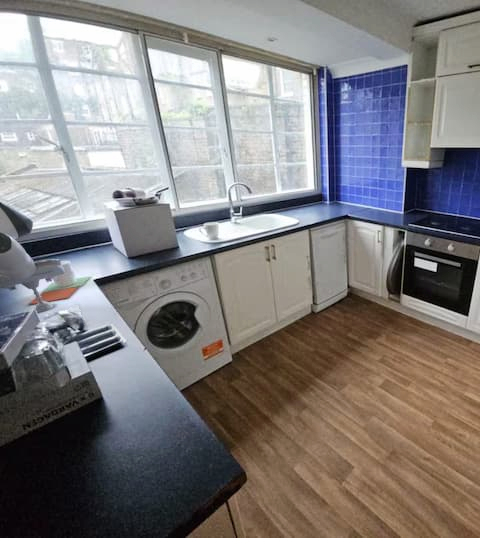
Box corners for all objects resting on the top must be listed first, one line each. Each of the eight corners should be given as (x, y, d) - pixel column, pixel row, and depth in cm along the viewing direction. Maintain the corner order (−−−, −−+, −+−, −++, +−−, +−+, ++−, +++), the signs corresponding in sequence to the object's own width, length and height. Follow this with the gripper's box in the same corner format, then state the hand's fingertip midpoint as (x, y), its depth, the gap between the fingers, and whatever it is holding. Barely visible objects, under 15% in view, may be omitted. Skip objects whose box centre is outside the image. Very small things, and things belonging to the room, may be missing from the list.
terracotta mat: (29, 305, 116) (28, 304, 116) (43, 293, 125) (42, 292, 125) (68, 298, 120) (67, 297, 120) (78, 287, 130) (78, 286, 130)
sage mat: (42, 292, 126) (42, 292, 126) (54, 282, 135) (54, 282, 135) (80, 286, 131) (80, 285, 131) (89, 277, 140) (89, 276, 140)
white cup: (81, 282, 134) (72, 262, 130) (58, 289, 128) (48, 268, 124) (75, 278, 138) (66, 259, 134) (52, 285, 132) (42, 264, 128)
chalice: (30, 309, 113) (7, 266, 106) (54, 302, 118) (33, 260, 111) (33, 315, 109) (9, 270, 102) (58, 307, 114) (36, 264, 106)
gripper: (55, 251, 106) (66, 268, 116) (-34, 267, 93) (-12, 285, 103) (60, 265, 104) (71, 282, 115) (-29, 284, 91) (-7, 300, 102)
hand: (31, 283), depth 109 cm, fingers open, 8 cm apart
